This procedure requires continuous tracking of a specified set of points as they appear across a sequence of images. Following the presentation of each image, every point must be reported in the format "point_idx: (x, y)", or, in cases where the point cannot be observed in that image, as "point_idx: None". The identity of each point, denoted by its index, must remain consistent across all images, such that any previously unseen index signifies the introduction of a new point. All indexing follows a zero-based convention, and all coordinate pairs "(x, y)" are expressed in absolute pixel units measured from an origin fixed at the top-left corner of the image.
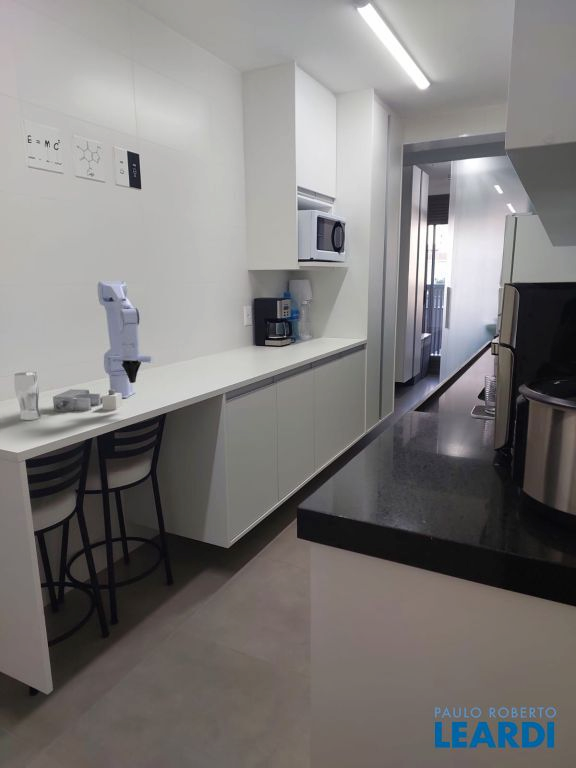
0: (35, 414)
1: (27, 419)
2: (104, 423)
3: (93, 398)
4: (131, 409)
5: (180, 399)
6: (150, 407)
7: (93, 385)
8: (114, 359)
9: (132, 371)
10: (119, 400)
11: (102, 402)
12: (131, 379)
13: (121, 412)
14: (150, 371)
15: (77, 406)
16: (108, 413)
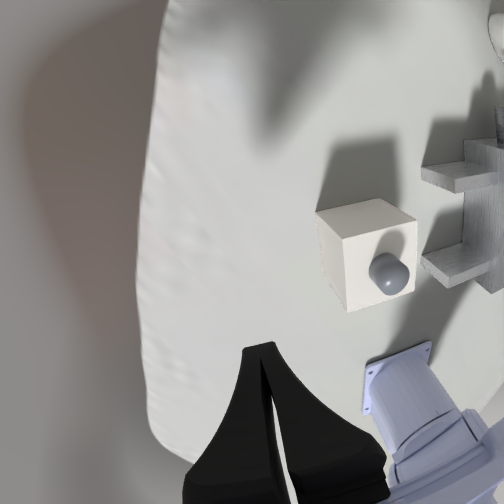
0: (500, 24)
1: (496, 13)
2: None
3: (455, 261)
4: (244, 241)
5: (161, 412)
6: (180, 300)
7: (477, 395)
8: (483, 459)
9: (239, 420)
10: (332, 266)
11: (396, 208)
12: (256, 361)
13: (257, 173)
14: None
15: (469, 164)
16: (311, 136)
